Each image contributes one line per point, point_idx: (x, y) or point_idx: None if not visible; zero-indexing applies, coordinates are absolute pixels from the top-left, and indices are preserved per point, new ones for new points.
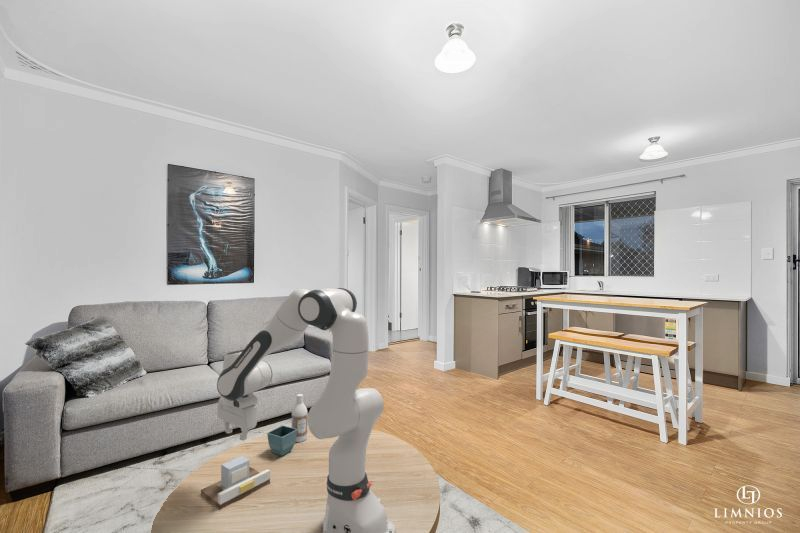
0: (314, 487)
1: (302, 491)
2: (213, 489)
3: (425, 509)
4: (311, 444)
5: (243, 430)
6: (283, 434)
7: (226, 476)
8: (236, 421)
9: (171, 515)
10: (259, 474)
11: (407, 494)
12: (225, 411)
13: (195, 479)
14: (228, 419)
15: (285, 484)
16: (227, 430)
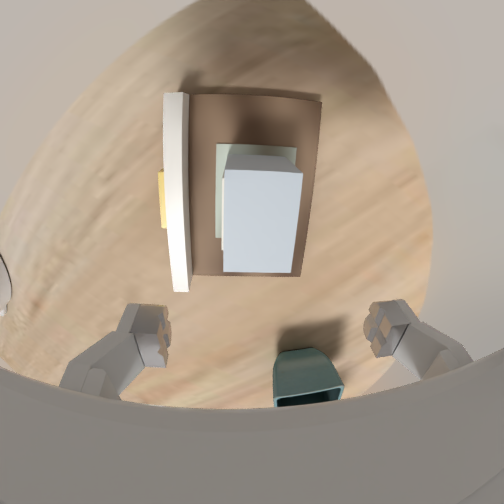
0: (88, 312)
1: (88, 289)
2: (284, 126)
3: None
4: (262, 400)
5: (66, 373)
6: (322, 396)
7: (246, 162)
8: (139, 470)
9: (282, 3)
10: (177, 257)
11: (13, 354)
12: (489, 468)
13: (405, 148)
14: (396, 428)
15: (142, 286)
16: (388, 316)
